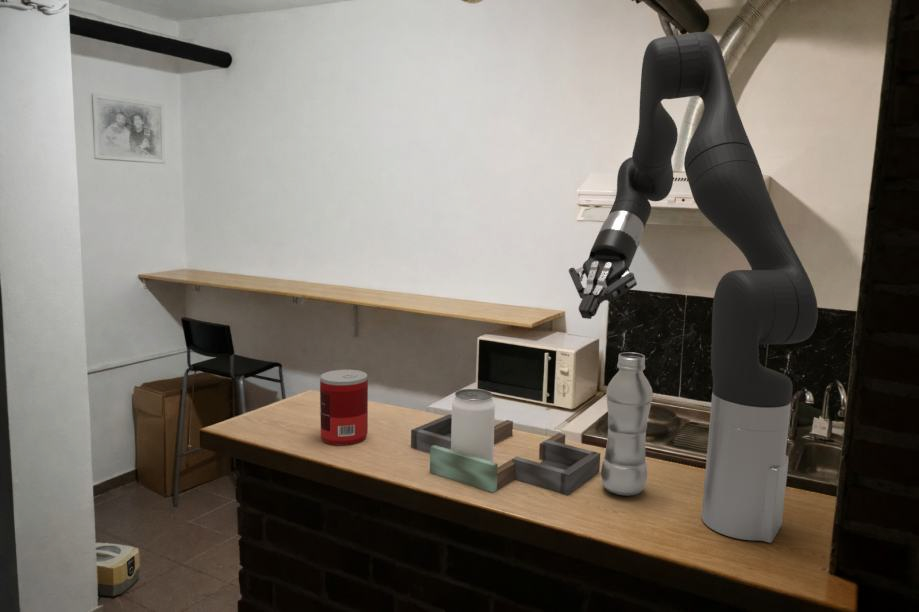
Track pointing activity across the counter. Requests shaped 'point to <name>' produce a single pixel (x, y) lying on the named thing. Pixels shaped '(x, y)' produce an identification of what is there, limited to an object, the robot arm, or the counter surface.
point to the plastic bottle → (627, 427)
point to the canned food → (344, 406)
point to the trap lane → (556, 472)
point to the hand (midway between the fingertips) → (585, 315)
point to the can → (473, 423)
